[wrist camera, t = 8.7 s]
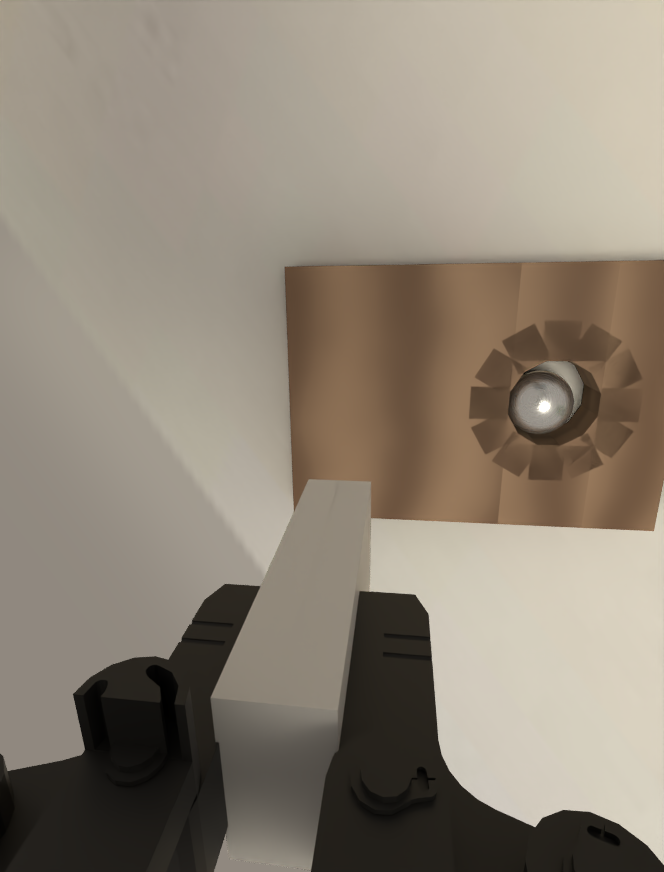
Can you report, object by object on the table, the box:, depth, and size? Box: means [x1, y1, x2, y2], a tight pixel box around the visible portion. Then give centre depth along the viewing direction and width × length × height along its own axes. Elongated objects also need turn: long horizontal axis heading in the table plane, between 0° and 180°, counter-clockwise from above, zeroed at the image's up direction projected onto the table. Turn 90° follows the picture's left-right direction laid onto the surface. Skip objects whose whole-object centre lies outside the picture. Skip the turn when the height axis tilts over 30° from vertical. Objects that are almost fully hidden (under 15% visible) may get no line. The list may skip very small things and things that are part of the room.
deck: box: [285, 260, 664, 531], centre depth 28 cm, size 20×14×2 cm
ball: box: [508, 371, 574, 434], centre depth 27 cm, size 3×3×3 cm
